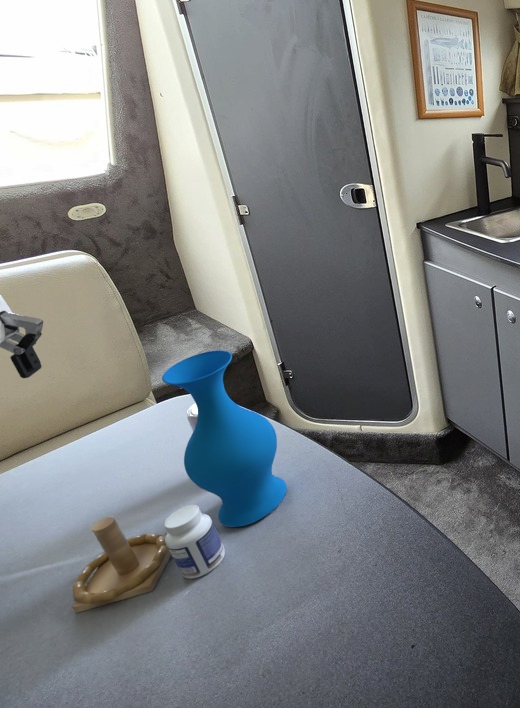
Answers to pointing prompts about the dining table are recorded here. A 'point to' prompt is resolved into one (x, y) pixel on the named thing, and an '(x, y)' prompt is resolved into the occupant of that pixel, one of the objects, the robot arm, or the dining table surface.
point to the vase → (227, 443)
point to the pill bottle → (193, 541)
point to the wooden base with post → (120, 564)
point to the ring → (93, 598)
